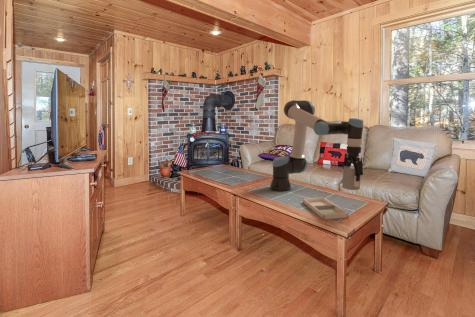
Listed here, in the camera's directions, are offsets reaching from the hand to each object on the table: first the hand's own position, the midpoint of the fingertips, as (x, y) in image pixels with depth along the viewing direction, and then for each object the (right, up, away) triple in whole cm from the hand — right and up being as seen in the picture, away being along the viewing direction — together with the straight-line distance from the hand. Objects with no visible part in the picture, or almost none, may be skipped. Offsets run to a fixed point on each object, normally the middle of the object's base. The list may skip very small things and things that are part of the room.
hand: (351, 184), depth 155 cm
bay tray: (-16, -15, +1) cm, 22 cm away
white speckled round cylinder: (0, -2, 0) cm, 2 cm away
